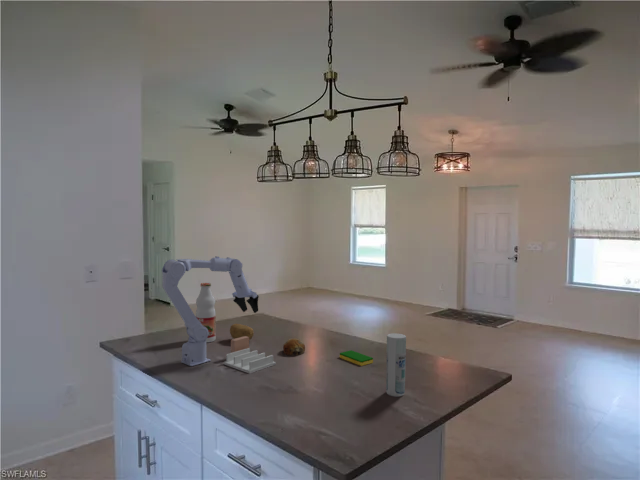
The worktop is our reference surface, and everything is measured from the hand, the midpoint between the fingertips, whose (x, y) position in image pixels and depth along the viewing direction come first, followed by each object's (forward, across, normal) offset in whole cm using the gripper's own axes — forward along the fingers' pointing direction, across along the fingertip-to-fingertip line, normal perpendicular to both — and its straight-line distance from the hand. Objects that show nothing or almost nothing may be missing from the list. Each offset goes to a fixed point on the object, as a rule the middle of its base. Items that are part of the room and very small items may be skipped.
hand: (250, 311), depth 196 cm
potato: (+19, +18, -2) cm, 26 cm away
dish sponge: (+30, -40, -13) cm, 51 cm away
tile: (+14, 0, +14) cm, 20 cm away
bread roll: (+23, -13, -4) cm, 27 cm away
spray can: (+25, -71, +6) cm, 75 cm away
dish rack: (+14, -11, +18) cm, 25 cm away
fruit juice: (+13, +32, +8) cm, 35 cm away
